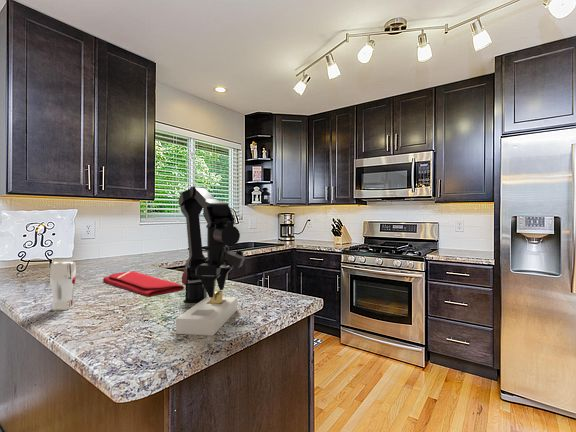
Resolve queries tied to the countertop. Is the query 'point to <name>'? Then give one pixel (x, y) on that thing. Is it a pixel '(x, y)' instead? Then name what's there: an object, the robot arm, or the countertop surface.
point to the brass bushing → (217, 297)
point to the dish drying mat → (142, 283)
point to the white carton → (62, 284)
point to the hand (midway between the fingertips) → (216, 293)
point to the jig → (206, 317)
